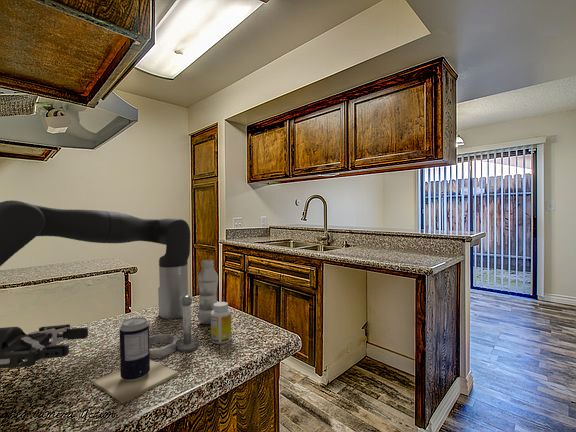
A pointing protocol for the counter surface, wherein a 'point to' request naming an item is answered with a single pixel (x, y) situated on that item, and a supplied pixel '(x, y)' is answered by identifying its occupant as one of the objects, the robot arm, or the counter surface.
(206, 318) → the plastic bottle
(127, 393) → the birch board
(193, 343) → the steel ring stand
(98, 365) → the counter surface
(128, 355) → the beverage can
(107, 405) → the counter surface
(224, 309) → the supplement bottle
